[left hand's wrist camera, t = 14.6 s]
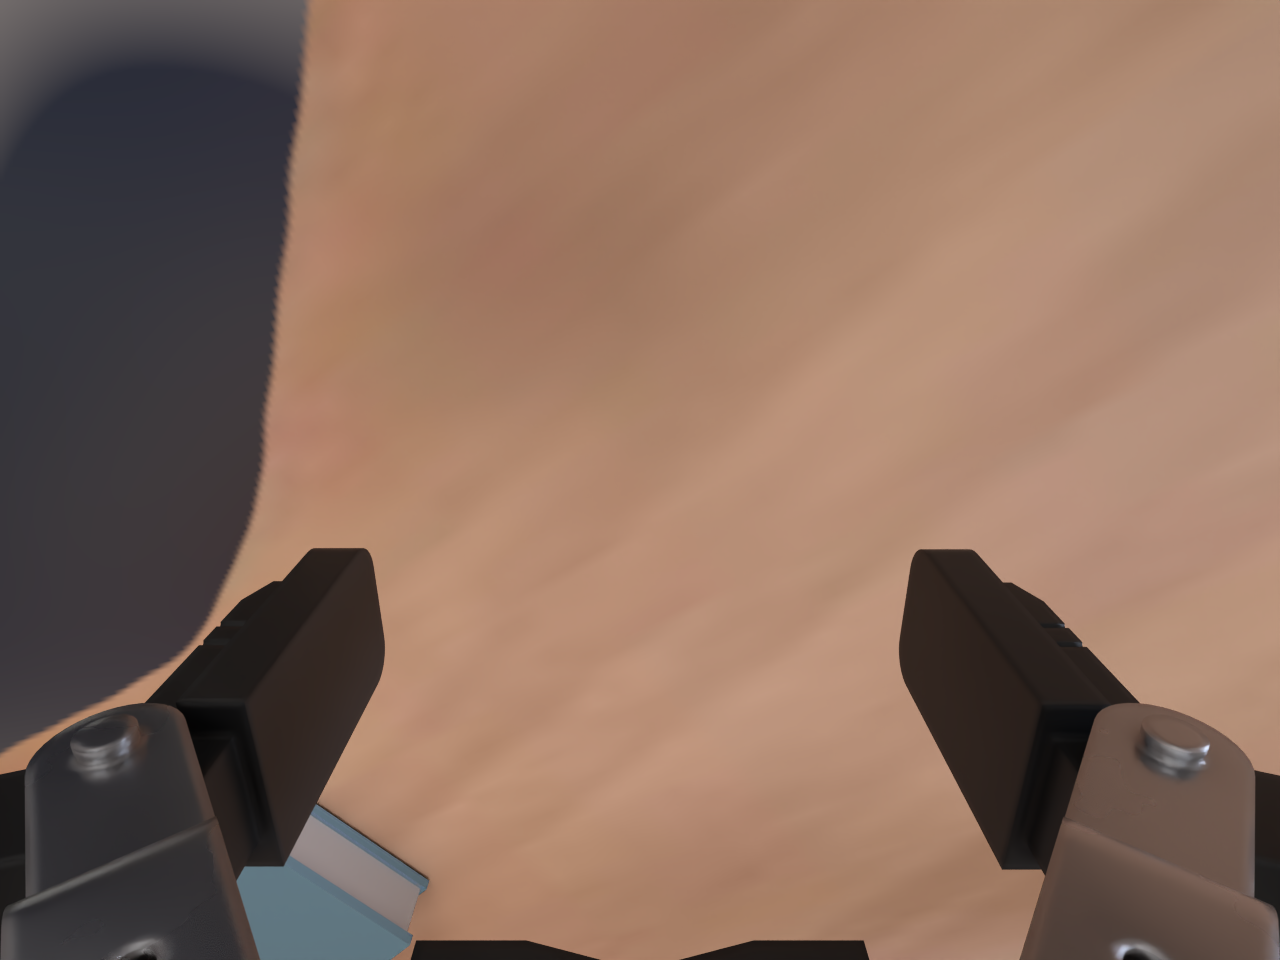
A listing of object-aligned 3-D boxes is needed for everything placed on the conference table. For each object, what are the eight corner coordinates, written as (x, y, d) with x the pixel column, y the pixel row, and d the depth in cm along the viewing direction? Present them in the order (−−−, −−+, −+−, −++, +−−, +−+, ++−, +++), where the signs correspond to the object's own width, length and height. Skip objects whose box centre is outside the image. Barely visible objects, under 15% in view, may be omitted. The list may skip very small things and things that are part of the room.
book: (249, 1022, 61) (217, 1091, 57) (71, 921, 57) (20, 987, 52) (429, 880, 55) (409, 945, 51) (245, 756, 51) (206, 814, 47)
